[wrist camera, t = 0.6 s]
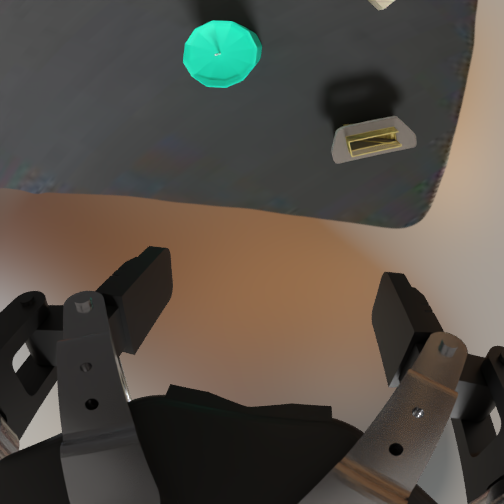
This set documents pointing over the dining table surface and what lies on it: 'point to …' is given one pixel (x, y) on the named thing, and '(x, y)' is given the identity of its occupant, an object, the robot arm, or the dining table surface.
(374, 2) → the panel
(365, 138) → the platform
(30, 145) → the dining table surface
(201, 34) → the candle
